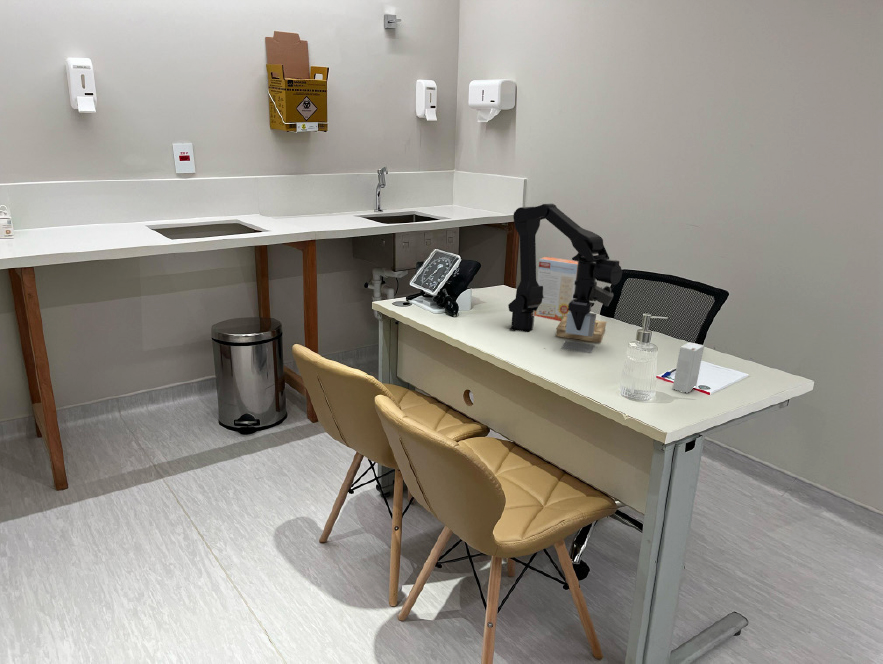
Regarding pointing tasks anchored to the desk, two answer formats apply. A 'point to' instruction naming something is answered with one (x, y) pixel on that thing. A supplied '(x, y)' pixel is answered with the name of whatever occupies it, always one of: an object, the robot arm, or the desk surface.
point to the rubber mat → (578, 346)
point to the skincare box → (688, 367)
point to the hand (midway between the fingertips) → (579, 328)
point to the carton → (596, 337)
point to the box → (586, 327)
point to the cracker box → (556, 286)
